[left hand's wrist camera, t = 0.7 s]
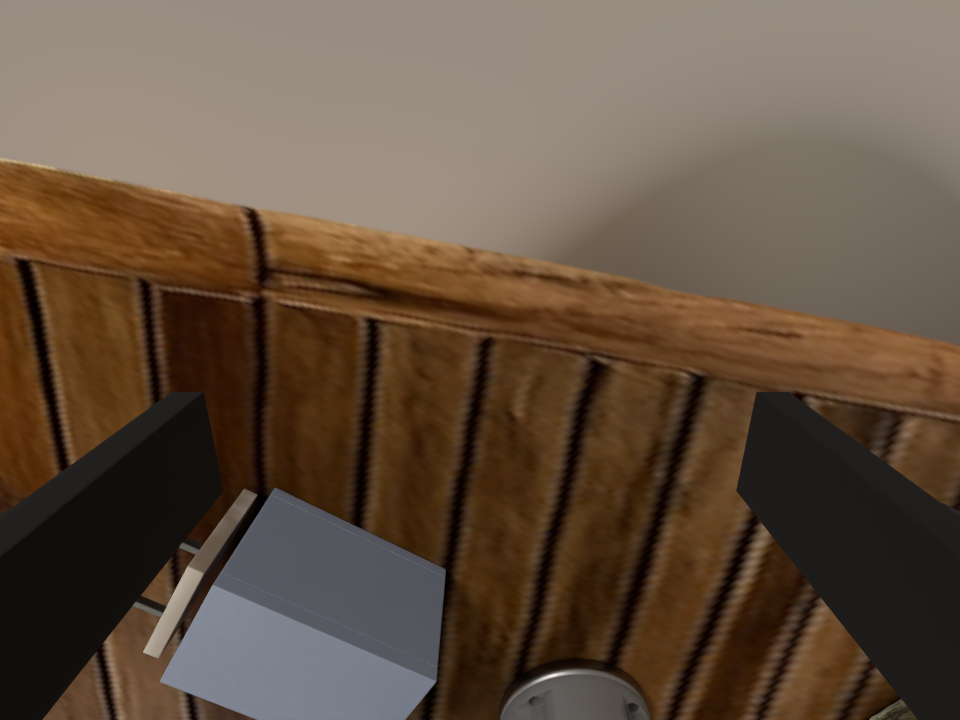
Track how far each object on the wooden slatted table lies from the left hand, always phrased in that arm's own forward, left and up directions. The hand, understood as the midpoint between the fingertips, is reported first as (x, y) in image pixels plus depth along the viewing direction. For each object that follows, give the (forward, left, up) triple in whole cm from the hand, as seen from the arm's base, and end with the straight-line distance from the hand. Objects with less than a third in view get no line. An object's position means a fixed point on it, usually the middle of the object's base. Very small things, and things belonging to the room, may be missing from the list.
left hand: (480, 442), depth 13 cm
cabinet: (-30, +10, -27) cm, 41 cm away
